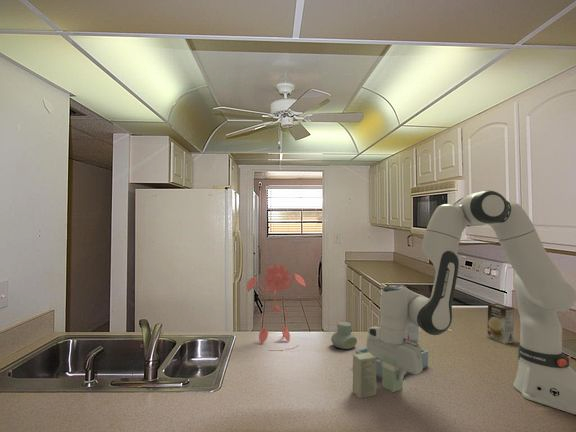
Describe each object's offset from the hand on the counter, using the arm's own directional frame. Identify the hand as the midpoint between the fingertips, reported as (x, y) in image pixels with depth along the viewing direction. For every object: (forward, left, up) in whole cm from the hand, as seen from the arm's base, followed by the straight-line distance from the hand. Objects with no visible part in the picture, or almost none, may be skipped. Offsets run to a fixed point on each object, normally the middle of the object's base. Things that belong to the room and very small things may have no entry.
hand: (392, 376), depth 113 cm
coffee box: (+4, -81, -4) cm, 81 cm away
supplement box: (+23, -40, -4) cm, 46 cm away
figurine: (+52, +13, -4) cm, 54 cm away
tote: (+11, -13, -4) cm, 17 cm away
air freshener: (+35, -11, -4) cm, 37 cm away
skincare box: (+2, +11, -4) cm, 12 cm away
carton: (0, 0, -4) cm, 4 cm away
